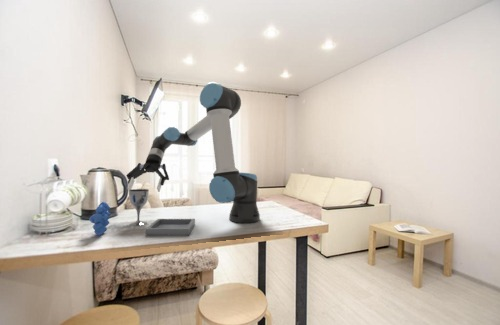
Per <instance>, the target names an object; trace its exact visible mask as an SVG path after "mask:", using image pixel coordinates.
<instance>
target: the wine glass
mask: <svg viewBox="0 0 500 325" xmlns="http://www.w3.org/2000/svg"><path fill="white" fill-rule="evenodd" d="M149 190H150V189H147V188H133V189H131V190H129V191H128V199H129V204H131V206H132V207H133V208H135V210H136V214H137V216H136V217H137V219H136V221H133V222H130V223H129V226H130V227H132V226H133V227H140V226H144V225H147V224H148V222H147V221H142V220H140V215H141V210H142V209H143V208H144V207H145V205H146V204H147V203H148V199H149Z"/></svg>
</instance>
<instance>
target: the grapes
mask: <svg viewBox="0 0 500 325" xmlns="http://www.w3.org/2000/svg"><path fill="white" fill-rule="evenodd" d="M110 209H111V207H110V206H109V204H108V203H107V202H106V201H102V202H100V204H98V205H97V207H96V208H95V214H92V215H91V216H90V217H89V218H88V220H89V221H90V223H92V224H93V225H92V228H93V230H94V234H95V235H96V236H97V237H99V236H101V235H102V234H104V233H105V232H107V230H108V228H107V226H108V225H109V224H110V221H109V219H110V216H111V213H110V212H109V210H110Z"/></svg>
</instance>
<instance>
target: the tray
mask: <svg viewBox="0 0 500 325" xmlns="http://www.w3.org/2000/svg"><path fill="white" fill-rule="evenodd" d="M195 223H196V220H195V218H157V219H156V220H155V221H153V223H151V224H150V225H149V226H147V227H146V228H145V237H160V236H161V237H169V236H170V237H171V236H172V237H175V236H176V237H179V236H181V237H183V236H184V237H185V236H186V237H188V236H190V234H191V232H192V231H193V229H194V227H195V226H196V224H195Z"/></svg>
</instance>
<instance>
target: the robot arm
mask: <svg viewBox="0 0 500 325" xmlns="http://www.w3.org/2000/svg"><path fill="white" fill-rule="evenodd" d="M199 102H200V105H201V106H202V107H203V108H205V109H206V116H204V117H202V119H201V120H200V121H198V122H197V123H196V124H193V126H191V127H190V128H189V129H188V130H186V131H184V132H183V131H180V130H179V129H178V128H177V127H175V126H168V128H166V129H165V130H164V131H163V132H162V133H161V134H160V135H159V136H155V138H154V140H153V141H152V144H151V147H150V150H149V152H148V155H147V157H146V159H145V163H144V164H143V163H141V162H139V163H138V164H137V165H136V166H135V167H134V168H133V169H131V170H130V171H129V172H128V173H127V174H126V178H127V179H128V181H127V191H128V192H129V190H133V189H132V188H133V186H134V184H135V181H136V179H137V178H139V177H140V176H142V175H143V174H147V173H152V174H153V173H156V174H157V175H158V176H159V179H158V180H159V181H158V184H157V187H156V190H157V192H160V191H161V188H162V186H164V185H165V181H169V180H170V177H169V175H168V172H167V166H166V163H162V162H163V161H162V160H163V158H164V155H165V152H166V150H167V149H168V148H169V147H170V146H171V145H178V146H179V145H180V146H188V147H193V146H195V145H197V143H198V140H199V139H201V137H203V136H204V135H205V134H207V133H208V132H210V131H211V134H212V142H213V151H214V152H213V153H214V161H215V163H214V164H215V171H214V172H213V173H212V174H213V178H211V179H210V183H209V186H208V188H209V189H208V190H209V192H210V193H209V194H210V195H211V197H212V199H214V201H216V202H218V203H220V204H227V203H228V204H229V203H232V202H233V204H232V206H231V209H230V213H229V214H228V215H229V217H228V219H229V221H231V222H234V223H240V224H241V223H242V224H252V223H257V222H259V221H260V219H261V218H260V217H261V215H260V212H259V211H260V210H259V209H258V205H257V203H258V202H257V200H258V196H257V195H258V176H257V175H256V173H250V172H249V173H247V172H240V171H239V169H238V168H236V164H235V163H236V162H235V155H234V146H233V138H232V130H231V124H230V123H231V121H230V120H231V119H232V118H234V116H236V114H238V112H239V111H240V109H241V106H242V100H241V96H240V94H239V93H237V92H236V91H235V90H234V89H230V88H228V87H227V86H224V85H222V84H221V83H217V82H214V81H212V82H208V83H207V84H206V85H204V87H203V89H202V90H201V91H200V94H199ZM160 169H162V170H163V173H162V172H161V171H160Z"/></svg>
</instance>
